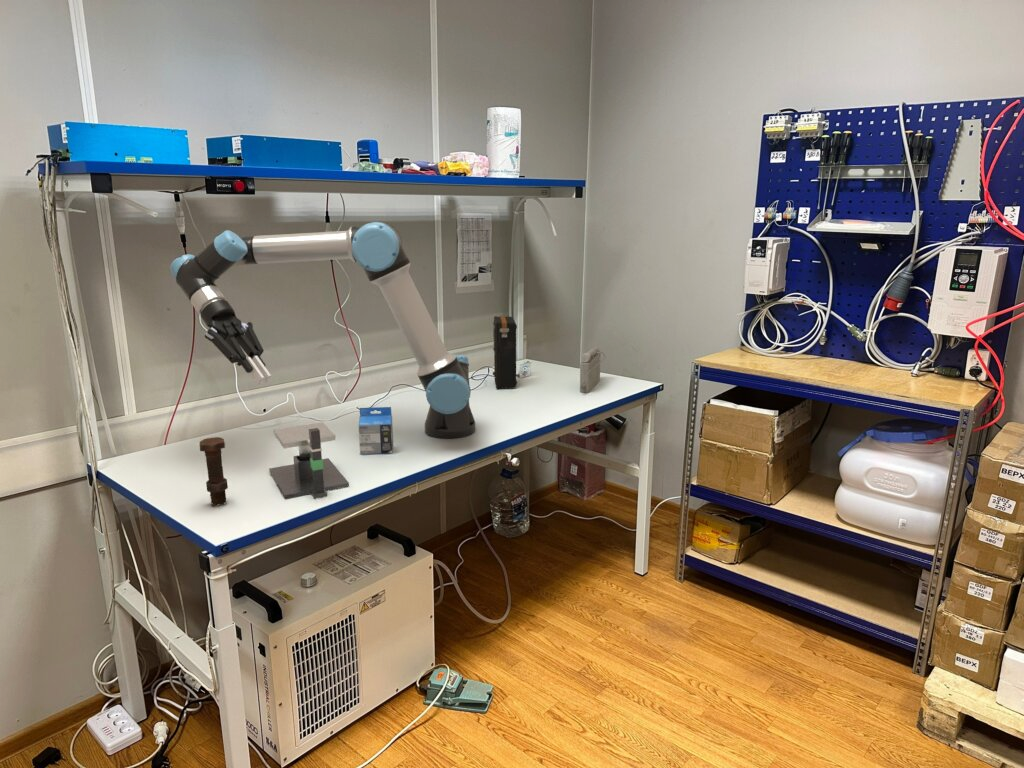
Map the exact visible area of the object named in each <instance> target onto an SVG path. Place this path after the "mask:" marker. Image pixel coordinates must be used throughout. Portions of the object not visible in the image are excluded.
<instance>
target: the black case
mask: <svg viewBox="0 0 1024 768" xmlns="http://www.w3.org/2000/svg"><path fill="white" fill-rule="evenodd" d="M492 325H493V337H492V338H493V348H492V349H493V355H494V357H493V358H494V363H493V364H494V365H493V366H494V369H493V370H494V371H492V376H493V377H494V383H495V384H494V385H495V388H496V389H497V390H500V389H515V388H516V387H517V383H518V381H517V329H518V324H517V323H516V321H515V319H514V317H512V316H505V315H499V316H497V315H495V316H494V317H493V322H492Z"/></svg>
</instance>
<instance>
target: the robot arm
mask: <svg viewBox="0 0 1024 768" xmlns="http://www.w3.org/2000/svg"><path fill="white" fill-rule="evenodd" d="M347 259H348V260H351V261H352V262H353V263H358V265H359V266H360V267H362V269H363V271H364V273H365V275H366V276H367V279H368V280H369V283H370V284H372V285H376V286H377V287H379V289H380V291H381V293H382V296H383V297H384V299H385V301H386V303H387V305H388V307H389V309H390V311H391V313H392V315H393V317H394V319H395V321H396V323H397V325H398V327H399V329H400V331H401V333H402V335H403V337H404V339H405V341H406V343H407V344H408V347H409V349H410V351H411V353H412V355H413V357H414V359H415V360H416V363H417V365H418V370H417V372H416V375H417V377H418V379H419V380H420V384H421V385H422V387H423V389H424V391H425V397H426V401H427V403H428V405H429V408H428V412H427V415H426V419H425V421H424V432H425V434H426V435H428V436H430V437H434V438H439V439H454V438H455V439H456V438H457V437H458V438H463V437H467V436H469V435H472V434H474V433H475V432H476V421H475V418H474V414H473V412H472V410H471V409H472V408H471V407H470V398H471V393H472V392H471V391H472V390H471V385H470V378H469V375H470V374H469V372H470V371H469V365H470V363H469V357H468V356H467V355H465V354H453V353H450V352H448V349H447V348H446V346H445V344H444V342H443V340H442V338H441V336H440V333H439V331H438V330H437V327H436V326H435V324H434V321H433V320H432V317H431V315H430V313H429V311H428V310H427V306H426V305H425V303H424V301H423V299H422V297H421V295H420V293H419V291H418V289H417V287H416V284H415V283H414V280H413V279H412V277H411V274H410V270H409V269H410V267H411V261H410V259H409V257H408V255H407V252H406V251H405V249H404V246H403V239H402V236H401V234H400V232H399V231H398V229H397V228H396V227H395V226H393V225H392V224H390V223H388V222H385V221H372V222H369V223H365V224H364V225H359V226H350V227H349V229H348V230H338V231H320V232H319V231H318V232H302V233H301V232H300V233H287V234H286V233H284V234H268V235H267V234H266V235H264V234H263V235H251V236H250V235H249V236H242V235H238V234H237V233H235V232H233V231H231V230H229V229H228V230H227V229H226V230H224V231H223V232H222V233H221V234H220V235H217V236H216V237H215V238H214V239H213V240H212V241H211V242H210V243H209V244H208V245H207V246H206V247H205V248H204V249H202V250H201V251H200V252H199V253H198V254H196V255H194V254H189V253H188V254H187V253H186V254H183V255H181V257H177V258H175V259H174V260H173V261H172V263H171V264H170V267H169V270H170V273H171V275H172V277H173V279H174V280H175V283H176V284H177V286H179V288H180V289H181V290H182V292H183V293H184V294H185V296H186V298H187V299H188V300H189V302H190V303H191V305H192V306H193V308H194V310H196V312H197V313H198V314H199V316H200V317H201V320H203V322H204V323H205V325H206V326H207V327H208V329H207V331H206V332H205V335H204V338H205V339H207V340H208V341H210V342H211V343H212V344H213V345H214V346H215V347H216V348H217V349H218V350H219V352H220V353H221V354H222V355H223V356H224V357H225V358H226V359H227V360H228V361H229V362H230V363H231V364H235V363H236V365H237V366H239V367H240V366H242V368H243V369H244V371H245V372H246V373H247V374H249V375H250V376H251V377H252V379H253V381H254V382H255V383H256V384H257V385H260V384H261V383H262V382H263V383H268V381H269V379H270V378H271V376H272V374H271V373H270V372H269V370H268V369H267V367H266V363H265V362H264V360H263V359H262V358H261V356H262V354H263V353H264V348H263V346H262V344H261V342H260V340H259V338H258V337H257V335H256V332H255V330H254V327H253V325H254V324H253V323H252V322H250V321H248V322H247V323H244V322H242V320H241V319H239V318H238V317H237V316H236V312H235V310H234V308H233V307H232V306H231V304H230V302H229V301H228V300H227V299H226V297H225V296H224V293H222V291H220V288H219V287H218V285H217V284H216V283H215V282H216V281H217V280H219V279H220V278H221V277H222V276H223V275H224V274H225V273H226V272H227V271H229V270H231V268H234V267H238V266H246V265H247V266H248V265H259V264H260V265H261V264H275V263H276V264H277V263H278V264H280V263H294V262H295V263H296V262H298V263H299V262H314V261H335V260H347ZM247 356H248V357H247Z"/></svg>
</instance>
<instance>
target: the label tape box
mask: <svg viewBox="0 0 1024 768" xmlns="http://www.w3.org/2000/svg"><path fill="white" fill-rule="evenodd" d="M375 411H377V413H371V412H375ZM379 412H380V413H379ZM358 419H359V421H358V441H359V454H360V455H376V454H377V455H380V454H393V452H394V432H393V415H392V407H391V406H378V407H373V406H372V407H371V406H370V407H369V406H368V407H359V418H358Z"/></svg>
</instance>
